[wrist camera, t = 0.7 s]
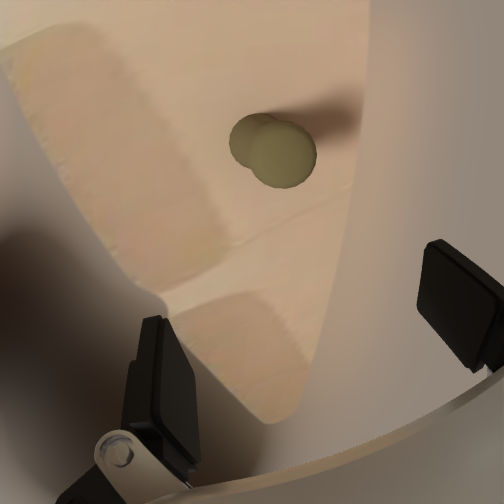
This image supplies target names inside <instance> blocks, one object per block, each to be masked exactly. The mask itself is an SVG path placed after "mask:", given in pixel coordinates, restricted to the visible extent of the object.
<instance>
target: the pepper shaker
mask: <svg viewBox="0 0 504 504" xmlns="http://www.w3.org/2000/svg"><path fill="white" fill-rule="evenodd" d="M229 146H230V150H231V153H232V155H233V156H234V158H235V160H236V161H237V162H239V163H240V164H241V165H242V166H244V167H247V168H249V169H251V170H252V172H253V173H254V175H255V176H256V178H258V179H259V180H260V181H261V182H262V183H264V184H265V185H268V186H270V187H273V188H283V189H287V188H291V187H295V186H297V185H299V184H301V183H302V182H304V181H305V180H306V179H307V178H308V177H309V176H310V175H311V173H312V171H313V169H314V167H315V164H316V157H317V153H316V146H315V143H314V141H313V140H312V138H311V136H310V134H309V133H308V132H307V131H306V130H305V129H304V128H303V127H301V126H299V125H297V124H295V123H293V122H286V121H277V120H276V119H274V118H272V117H270V116H268V115H265V114H252V115H248V116H246V117H244V118H243V119H241V120H239V122H238V123H237V124H236V125H235V126H234V127H233V130H232V132H231V134H230V141H229Z"/></svg>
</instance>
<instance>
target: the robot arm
mask: <svg viewBox="0 0 504 504" xmlns="http://www.w3.org/2000/svg"><path fill="white" fill-rule="evenodd" d="M417 309H418V311H419V313H420V314H421V315H422V316H423V317H424V319H425V320H426V321H427V322H428V323H429V324H430V325H431V327H432V328H433V329H434V330H435V331H436V332H437V333H438V334H439V336H440V337H441V338H442V339H443V341H445V343H446V344H447V345H448V346H449V348H450V349H451V350H452V351H453V353H454V354H455V355H456V356H457V357H458V358H459V360H460V361H461V362H462V364H463V365H464V366H465V367H466V368H470V370H471V371H472V372H473V373H475V372H477V371H479V370H480V369H482V368H483V366H484V364H486V365H487V367H488V368H487V369H488V370H487V378H486V379H485V380H483V381H482V382H480V383H479V384H477V385H476V386H474V387H472V388H471V389H469V390H468V391H466V392H465V393H463V394H461V395H460V396H458V397H456V398H455V399H453V400H451V401H450V402H448V403H446V404H445V405H443V406H441V407H439V408H438V409H436V410H434V411H432V412H430V413H429V414H427V415H425V416H423V417H421V418H419V419H417V420H415V421H413V422H411V423H409V424H407V425H405V426H403V427H401V428H399V429H396V430H394V431H392V432H390V433H388V434H385V435H383V436H381V437H378V438H376V439H374V440H371V441H369V442H366V443H364V444H361V445H359V446H356V447H353V448H351V449H348V450H346V451H343V452H340V453H337V454H334V455H332V456H328V457H325V458H322V459H319V460H316V461H313V462H309V463H306V464H302V465H299V466H295V467H291V468H288V469H284V470H280V471H276V472H272V473H268V474H264V475H259V476H255V477H250V478H245V479H240V480H235V481H229V482H224V483H219V484H214V485H209V486H202V487H197V488H192V487H191V486H190V485H189V484H188V483H187V482H186V481H187V480H188V473H189V472H197V467H196V463H200V462H201V453H200V442H199V430H198V417H197V402H196V386H195V385H196V384H195V376H194V372H193V369H192V367H191V366H190V364H189V361H188V360H187V357H186V355H185V353H184V351H183V350H182V347H181V345H180V343H179V341H178V339H177V337H176V335H175V333H174V331H173V328H172V326H171V324H170V322H169V320H168V319H167V318H164V319H162V317H161V315H157V316H153V317H148V318H144V319H143V322H142V328H141V334H140V339H139V345H138V352H137V358H136V360H133V361H131V362H130V365H129V369H128V375H127V382H126V389H125V396H124V403H123V411H122V420H121V429H120V430H115V431H111V432H109V433H107V434H106V435H104V436H103V437H102V438H101V439H100V440H99V442H98V444H97V445H96V448H95V453H94V454H95V461H96V464H95V465H94V466H93V467H92V468H91V469H90V470H89V471H87V472H86V473H85V474H84V475H83V476H82V477H81V478H79V479H78V480H77V481H76V482H75V483H74V484H73V485H71V486H70V487H69V488H68V489H67V490H66V491H64V492H63V493H62V494H61V495H60V496H59V498H58V499H57V501H56V503H55V504H504V287H503V286H502V285H501V284H500V283H499V282H497V281H496V280H495V279H494V278H493V277H491V276H490V275H489V274H488V273H486V272H485V271H484V270H482V269H481V268H480V267H479V266H478V265H476V264H475V263H474V262H472V261H471V260H469V258H467V257H466V256H464V255H463V254H462V253H461V252H459V251H458V250H457V249H455V248H454V247H452V246H451V245H450V244H448V243H447V242H446V241H444V240H442V239H438V240H435V241H432V242H429V243H428V244H427V246H426V248H425V249H424V256H423V264H422V271H421V279H420V286H419V292H418V298H417Z"/></svg>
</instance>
